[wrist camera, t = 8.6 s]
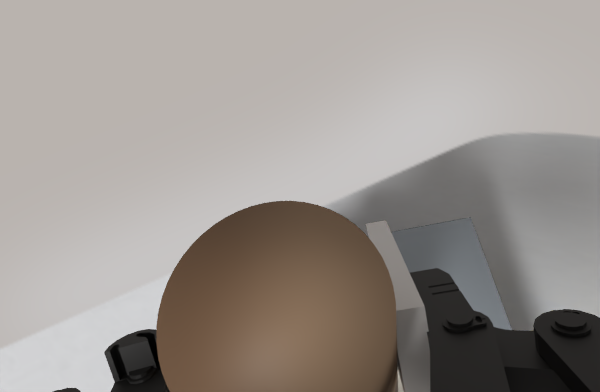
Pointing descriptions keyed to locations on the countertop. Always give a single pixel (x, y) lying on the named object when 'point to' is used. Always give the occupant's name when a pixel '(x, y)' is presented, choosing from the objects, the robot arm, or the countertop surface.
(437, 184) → the countertop surface
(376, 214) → the countertop surface
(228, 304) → the pin
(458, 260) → the socket block
